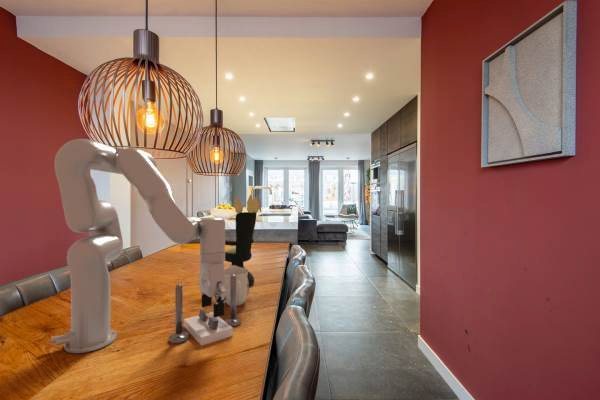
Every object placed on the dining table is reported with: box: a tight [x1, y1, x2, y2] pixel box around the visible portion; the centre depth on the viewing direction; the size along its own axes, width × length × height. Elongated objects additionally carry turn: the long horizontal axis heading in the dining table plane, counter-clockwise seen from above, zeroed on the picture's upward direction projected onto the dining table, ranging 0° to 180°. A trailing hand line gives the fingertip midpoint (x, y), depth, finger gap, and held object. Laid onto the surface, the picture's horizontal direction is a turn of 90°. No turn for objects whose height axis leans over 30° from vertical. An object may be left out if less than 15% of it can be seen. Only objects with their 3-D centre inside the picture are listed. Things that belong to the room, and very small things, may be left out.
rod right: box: [224, 274, 242, 328], centre depth 100 cm, size 6×6×17 cm
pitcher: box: [224, 264, 250, 307], centre depth 118 cm, size 11×18×14 cm, turn 21°
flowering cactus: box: [225, 193, 260, 287], centre depth 143 cm, size 19×22×45 cm
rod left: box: [168, 283, 190, 345], centre depth 89 cm, size 6×6×17 cm
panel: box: [183, 311, 234, 347], centre depth 95 cm, size 10×16×3 cm, turn 39°
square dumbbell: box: [198, 308, 218, 329], centre depth 95 cm, size 2×12×2 cm, turn 39°
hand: (212, 311), depth 91 cm, fingers open, 9 cm apart
